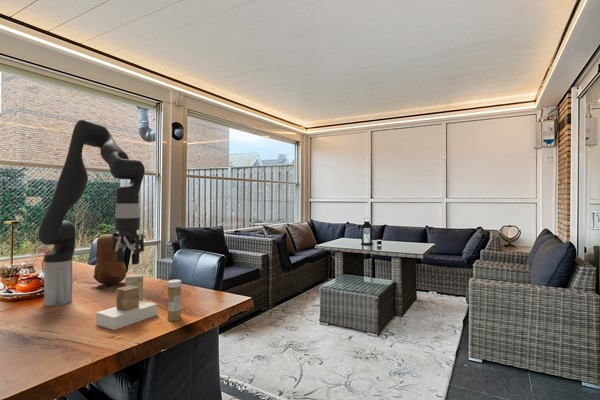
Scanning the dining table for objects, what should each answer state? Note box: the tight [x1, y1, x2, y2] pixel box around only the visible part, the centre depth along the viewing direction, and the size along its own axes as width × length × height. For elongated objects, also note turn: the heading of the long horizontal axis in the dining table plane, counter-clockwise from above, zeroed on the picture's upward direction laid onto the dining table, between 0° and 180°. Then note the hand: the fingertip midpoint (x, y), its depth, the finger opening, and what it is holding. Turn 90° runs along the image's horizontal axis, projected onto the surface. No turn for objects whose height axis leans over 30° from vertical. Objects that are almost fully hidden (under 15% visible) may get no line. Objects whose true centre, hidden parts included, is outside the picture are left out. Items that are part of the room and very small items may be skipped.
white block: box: [95, 300, 158, 331], centre depth 116 cm, size 10×16×4 cm, turn 151°
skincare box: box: [125, 273, 144, 301], centre depth 130 cm, size 6×4×12 cm
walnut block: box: [115, 285, 139, 311], centre depth 116 cm, size 5×5×7 cm
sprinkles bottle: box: [166, 279, 182, 322], centre depth 116 cm, size 5×5×14 cm
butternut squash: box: [93, 233, 127, 286], centre depth 164 cm, size 14×13×25 cm
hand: (127, 263), depth 115 cm, fingers open, 8 cm apart
